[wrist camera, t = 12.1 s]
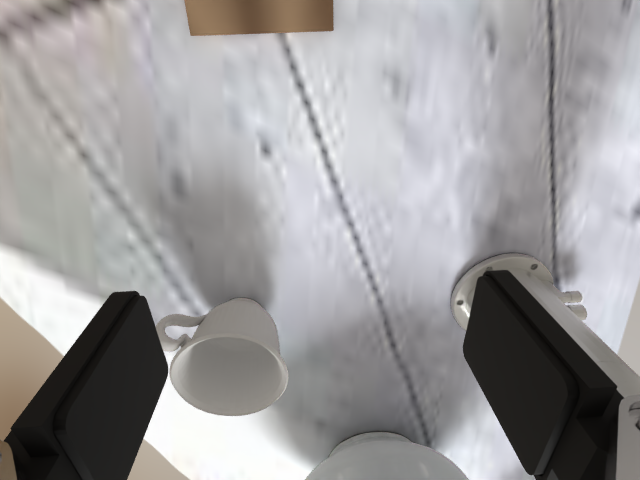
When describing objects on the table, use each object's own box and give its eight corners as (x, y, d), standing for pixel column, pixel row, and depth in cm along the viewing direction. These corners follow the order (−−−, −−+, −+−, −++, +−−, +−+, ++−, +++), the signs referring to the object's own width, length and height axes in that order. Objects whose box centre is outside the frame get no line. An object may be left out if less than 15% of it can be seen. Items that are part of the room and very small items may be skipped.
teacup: (205, 245, 41) (180, 300, 32) (309, 307, 46) (311, 369, 37) (155, 312, 45) (120, 377, 36) (255, 363, 50) (246, 430, 41)
